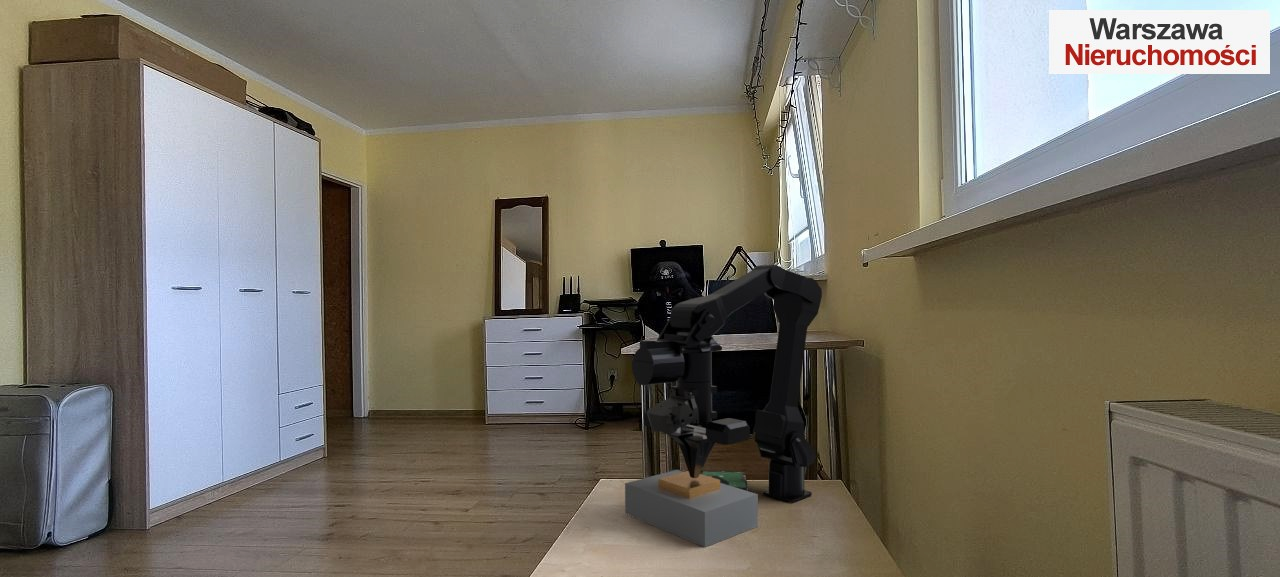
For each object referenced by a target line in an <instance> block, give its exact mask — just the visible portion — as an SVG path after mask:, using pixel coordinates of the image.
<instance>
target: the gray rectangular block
mask: <svg viewBox="0 0 1280 577" xmlns="http://www.w3.org/2000/svg"><path fill="white" fill-rule="evenodd" d="M673 470H674V471H670V472H669V471H667V472H662V473H659V474H655V475H652V476H647V477H645V478H641V479H636V480H633V481H628V482H625V483H624V497H625V498H624V513H627V514H629V515H628V516H630V515H631V516H630V517H632V516H633V518H634V517H635V518H634V519H637V520H639V521H640V522H644V523H646V524H649V525H651V526H654V527H656V528H658V529H661V530H663V531H666V532H668V533H670V534H673V535H675V536H678V537H680V538H682V539H684V540H687V541H688V542H692V543H694V544H696V545H698V546H701V547H703V548H707V547H709V546H712V545H715V544H717V543H719V542H722V541H725V540H727V539H730V538H732V537H735V536H737V535H739V534H742V533H744V532H748V531H749V530H752V529H753V530H754V529H755V528H757V527H759V501H758V500H759V498H758V496H759V495H758V493H755V492H752V491H749V490H748V491H745V490H742V489H739V488H735V487H732V486H729V485H726V484H722V483H720V489H719V490H716V491H713V492H710V493H707V494H703V495H700V496H697V497H694V498H691V499H689V498H686V497H683V496H680V495H677V494H674V493H671V492H668V491H665V490H663V489H660V488H658V479H659V478H663V477H667V476H670V475H674V474H678V473H682V472H683V471H679V470H680V469H673ZM627 514H626V515H627Z"/></svg>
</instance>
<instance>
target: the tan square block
mask: <svg viewBox="0 0 1280 577" xmlns="http://www.w3.org/2000/svg"><path fill="white" fill-rule="evenodd" d="M658 488H660V489H663V490H665V491H668V492H671V493H674V494H677V495H680V496H683V497H686V498H689V499H691V498H694V497H697V496H700V495H703V494H707V493H710V492H713V491H716V490H719V489H720V480H719V479H716V478H712V477H709V476H705V475H702V474H700V475H699V477H698V478H691V477H690V474H689V471H685V472H682V473H678V474H674V475H670V476H667V477H663V478H659V479H658Z"/></svg>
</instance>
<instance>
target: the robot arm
mask: <svg viewBox="0 0 1280 577" xmlns="http://www.w3.org/2000/svg"><path fill="white" fill-rule="evenodd" d="M763 295H764V296H766V297H767V298H770V299H772V300H773V301H772V303H773V304H772V305H773V306H772V307H773V312H774V314H775V317H776V319H777V320H778V324H779V326H778V334H777V341H776V349H775V350H776V351H775V358H774V366H773V371H772V379H771V380H772V381H771V385H770V386H771V388H770V395H769V401H768V403H767V404H766V406H765V407H764V408H763V410H761V409H757V410H756V412H755V420H754V421H755V422H754V427H753V429H752V433H754V442H755V443H756V444H757V448H758V452H759V454H760V457H761V459H762V458H763V459H767V460H770V461H769V463H768V464H769V466H768V467H769V470H768V488H767V489H764V490H762V495H765V496H768V497H772V498H775V499H778V500H782V501H785V502H788V503H795V502H797V501H799V500H802V499H805V498H808V497H811V496H812V495H813V492H812V491H808V490H805V468H808V467H810V465H814V462H815V458H816V455H817V453H816V451H815V449H814V448H813V447H812V445H811V444H810V443H809V442H808V440H807V439H806V438H805V423H804V422H805V421H804V420H803V417H802V414H801V412H800V409H799V407H798V406H799V398H800V397H799V396H800V389H801V381H802V372H803V365H804V358H805V357H804V356H805V350H806V349H805V348H806V341H807V333H808V327H809V326H811V324H812V322H813V321H814V319H815V318H816V317H817V316H818V314H819V309H820V306H821V302H822V295H823V290H822V287H821V286H820V285H819V283H818V281H817V280H816V279H814V278H813V277H806V276H804V275H802V274H799V273H796V272H792V271H789V270H786V268H783V267H782V266H780V265H777V264H762V265H761V264H760V265H756V266H755V267H754V268H752V270H750V271H749V272H746V274H744V275H741V276H740V277H738V278H736V279H734V280H733V281H731V282H729V283H728V284H726V285H724V286H722V287H721V288H719V289H717V290H716V291H714V292H712V293H711V294H708V295H704V296H698V297H694V298H690V299H687V300H685V301H684V300H683V301H681V302H679V303H676V304H675V305H674V306H673V307H672V308H671V310H670V312H671V313H670V317H669V319H668V320H667V322H666V324H665V325H664V327H663V329H662V330H661V332H660V334H659V336H658V337H657V339H656V340H649V339H643V340H640V341H639V348H637V350H636V351H635V352H634V355H633V360H631V371H632V375H633V377H634V380H635V381H636V383H638V385H641V386H650V385H661V384H662V385H663V384H671V383H675V385H673V386H670V388H669V395H668V398H666V399H663V400H661V401H660V402H658V403H656V404H655V405H653V406H652V407H651V408H647V410H646V411H645V413H644V414H643V427H644V426H645V427H648V428H651V431H653V432H660V433H663V434H664V435H667V436H668V437H670V438H672V440H674V441H675V442H676V443H677V444H678V446H679V449H680V451H681V453H682V454H681V455H682V456H683V460H684V462H685V465H686V468H687V470H688V471H689V474H690V477H691V478H698V477H699V475H700V473H701V470H702V471H703V467H704V466H705V464H706V462H707V459H708V457H709V455H710V453H711V452H712V449H713V448H714V446H715V445H716V444H718V445H722V446H723V445H724V446H728V445H733V444H736V443H737V444H738V443H741V442H746V441H749V440H751V428H750V425H749V424H748V422H747V421H746V420H741V419H737V418H731V417H727V418H721V419H718V412H717V411H715V410H713V394H716V393H718V386H717V385H713V381H712V380H713V379H712V378H713V377H712V376H713V375H712V374H713V373H712V372H713V371H712V370H713V368H712V360H713V358H712V356H713V355H712V354H713V353H712V352H721V351H723V346H721V344H719V343H718V342H717V341H716V340H715V339H714V337H713V336H714V335H715V334H716V333H717V332H718V331H720V329H722V328H723V327H724V325H725V324H726V321H727V319H728V317H730V316H731V314H733V313H735V312H736V311H737V310H739V309H741V308H743V307H745V306H746V305H747V304H749V303H751V302H752V301H754V300H756V299H757V298H759V297H761V296H763ZM714 419H717V420H714Z"/></svg>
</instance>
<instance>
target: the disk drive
mask: <svg viewBox="0 0 1280 577" xmlns="http://www.w3.org/2000/svg"><path fill="white" fill-rule="evenodd" d="M674 470H675V469H668V472H670V471H674ZM678 470H679V471H683V472H685V471H688V469H678ZM700 474H702V475H705V476H709V477H712V478H716V479H719V480H720V483H722V484H726V485H729V486H732V487H735V488H739V489H742V490H745V491H749V485H748V481H747V480H748V479H747V476H746V473H745V472H741V471H732V470H731V471H730V470H728V471H726V470H703V469H702V470H701V473H700Z"/></svg>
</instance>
